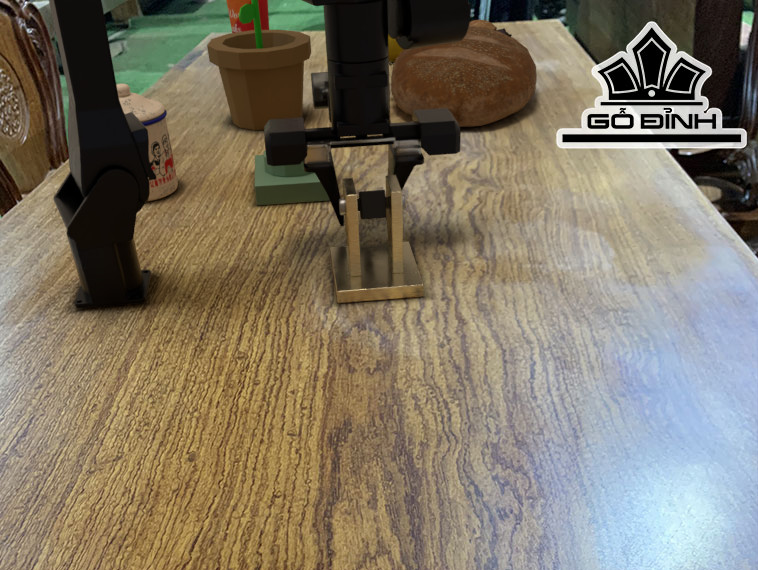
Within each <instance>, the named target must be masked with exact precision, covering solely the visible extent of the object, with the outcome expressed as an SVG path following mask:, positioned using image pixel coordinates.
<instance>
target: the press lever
mask: <svg viewBox="0 0 758 570" xmlns="http://www.w3.org/2000/svg"><path fill="white" fill-rule="evenodd" d="M357 192H358V198H357V203H358V212H359V219H360V220H363V221H365V220H379V219H386V189H375V190H373V189H372V190H362V191H360V190H359V191H357Z"/></svg>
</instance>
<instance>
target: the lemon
mask: <svg viewBox="0 0 758 570" xmlns="http://www.w3.org/2000/svg"><path fill="white" fill-rule="evenodd" d="M388 45H389V63H395V61H396V59H397V58H398V56H399V55H400V53H401V52H402V51H403V50H404V49H402V48H401V47H400V46H399V45H398V43H397V42H396V40H395V39H392V38H391V37H390V36H389V34H388Z"/></svg>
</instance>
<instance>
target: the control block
mask: <svg viewBox="0 0 758 570" xmlns="http://www.w3.org/2000/svg"><path fill="white" fill-rule="evenodd" d="M254 193H255V201H256V206H267V205H268V206H269V205H270V206H271V205H282V204H283V205H284V204H298V203H299V204H300V203H313V202H325V201H327V202H328V201H330V199H329V197H328V195H327V193H326V191H325V189H324V188H323V186H322V184H321V182H320V181H319V179H318V177H317V176H316V174H315V173H314V172H310V173H309V172H305V171H304V165H303V161H302V163H301V164H298V165H283V166H271V165H267V158H266V150H264V151H263V154H256V155H254Z"/></svg>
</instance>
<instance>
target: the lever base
mask: <svg viewBox="0 0 758 570" xmlns="http://www.w3.org/2000/svg"><path fill="white" fill-rule="evenodd" d="M341 181H342V182H341V183H342V198H341V199H339V209H340V215H344V229H345V230H344V232H345V246H344V245H343V246H329V254H330V263H331V269H332V276H333V283H334V287H335V296H336V301H337V304H347V303H359V302H370V301H371V302H372V301H383V300H396V299H397V300H399V299H410V298H423V297H424V283H423V280H422V275H421V274H420V270H419V267H418V265H417V261H416V259H415V256H414V253H413V251H412V247H411V244H410V241H404V228H403V227H404V223H403V221H404V219H403V211H406V208H407V201H406V195H405V194H404V193H403V190H401V187H400V185H399V182H398V179H397V176H396V175H387V174H386V175H385V197H386V215H387V222H386V242H384V243H370V244H369V243H368V244H361V243H360V226H359V225H360V224H359V211H358V203H357V199H358V194H357V189H356V185H355V180H354V178H353V177H348V178H347V177H345V178H342V179H341Z"/></svg>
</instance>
